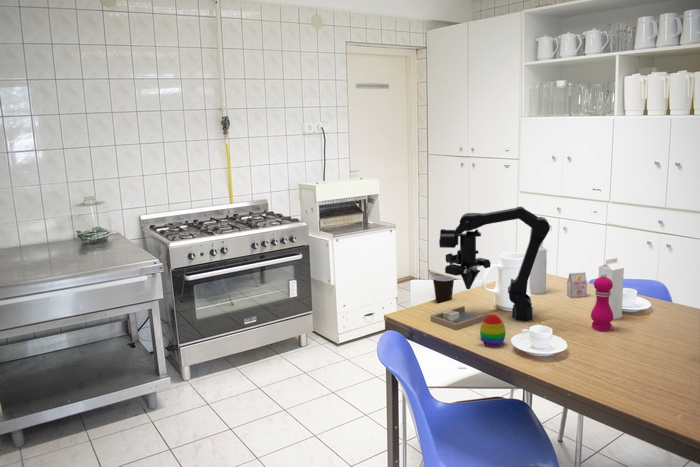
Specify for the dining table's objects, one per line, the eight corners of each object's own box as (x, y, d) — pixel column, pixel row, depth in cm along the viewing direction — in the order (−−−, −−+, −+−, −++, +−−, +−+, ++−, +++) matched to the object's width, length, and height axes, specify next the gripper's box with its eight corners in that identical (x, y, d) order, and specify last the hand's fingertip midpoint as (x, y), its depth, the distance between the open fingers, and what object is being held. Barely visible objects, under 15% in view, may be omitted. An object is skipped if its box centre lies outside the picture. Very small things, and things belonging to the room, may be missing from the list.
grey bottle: (548, 291, 246) (549, 234, 242) (541, 295, 242) (542, 237, 237) (533, 289, 251) (534, 233, 246) (526, 292, 246) (527, 235, 242)
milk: (596, 316, 214) (598, 258, 210) (608, 313, 216) (610, 256, 212) (610, 320, 208) (612, 261, 204) (622, 317, 211) (624, 259, 207)
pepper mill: (613, 326, 203) (615, 271, 199) (612, 332, 196) (615, 276, 193) (590, 323, 206) (592, 269, 202) (589, 330, 199) (591, 274, 196)
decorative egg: (510, 342, 191) (510, 314, 190) (496, 350, 186) (497, 320, 184) (488, 337, 197) (488, 309, 195) (475, 344, 192) (475, 315, 190)
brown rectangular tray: (489, 323, 211) (489, 314, 210) (456, 334, 201) (455, 324, 201) (463, 314, 221) (463, 306, 221) (430, 324, 212) (430, 315, 211)
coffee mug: (448, 305, 233) (447, 282, 231) (429, 302, 238) (429, 279, 237) (461, 298, 242) (460, 275, 240) (442, 295, 247) (442, 273, 246)
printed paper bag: (566, 295, 240) (567, 272, 238) (582, 294, 241) (582, 271, 239) (571, 298, 237) (571, 274, 235) (586, 296, 237) (587, 273, 236)
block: (459, 323, 208) (459, 312, 207) (451, 325, 206) (451, 314, 205) (451, 320, 211) (451, 309, 210) (443, 322, 209) (443, 312, 208)
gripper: (469, 241, 222) (469, 280, 225) (434, 248, 212) (434, 289, 214) (491, 245, 213) (491, 285, 216) (456, 253, 203) (456, 295, 206)
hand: (468, 288), depth 213 cm, fingers closed
